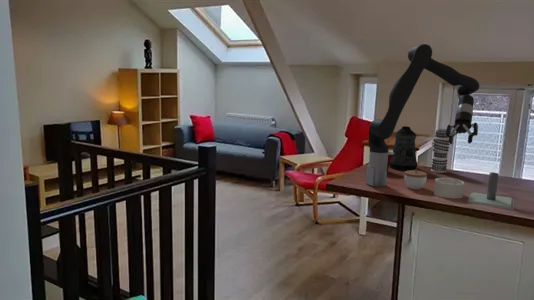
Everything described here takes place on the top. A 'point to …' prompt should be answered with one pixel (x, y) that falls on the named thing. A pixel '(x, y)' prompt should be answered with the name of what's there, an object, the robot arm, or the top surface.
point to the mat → (493, 206)
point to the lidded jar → (415, 179)
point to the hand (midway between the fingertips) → (459, 143)
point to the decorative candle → (440, 151)
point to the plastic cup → (389, 159)
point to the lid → (491, 194)
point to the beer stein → (404, 150)
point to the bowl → (449, 188)
